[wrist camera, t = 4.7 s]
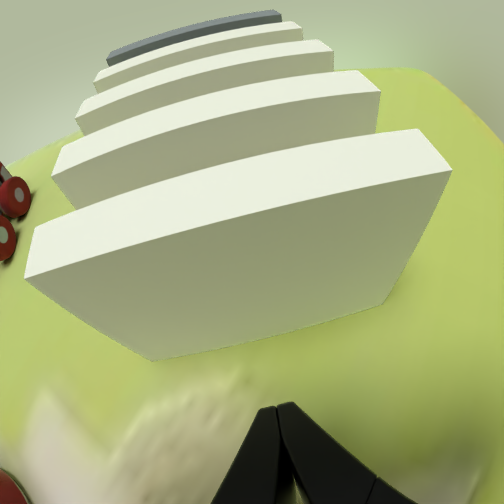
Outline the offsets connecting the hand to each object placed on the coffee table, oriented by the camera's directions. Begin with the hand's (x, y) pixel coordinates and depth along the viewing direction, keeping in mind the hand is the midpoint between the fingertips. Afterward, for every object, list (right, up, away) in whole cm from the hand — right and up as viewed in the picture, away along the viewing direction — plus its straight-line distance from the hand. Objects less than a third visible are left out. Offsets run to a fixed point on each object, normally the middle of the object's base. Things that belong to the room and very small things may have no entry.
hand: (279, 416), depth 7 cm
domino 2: (-1, +4, +12) cm, 13 cm away
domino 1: (0, 0, +9) cm, 9 cm away
